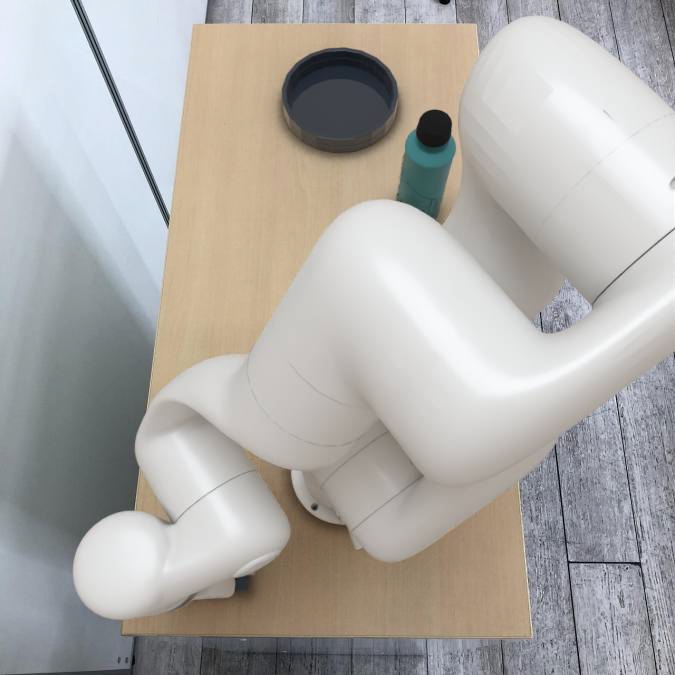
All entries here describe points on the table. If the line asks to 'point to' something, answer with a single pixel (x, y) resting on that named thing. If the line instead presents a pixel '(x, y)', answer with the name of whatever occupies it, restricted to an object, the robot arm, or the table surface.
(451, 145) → the beverage bottle
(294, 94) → the pan
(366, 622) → the table surface
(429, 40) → the table surface
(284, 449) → the robot arm
